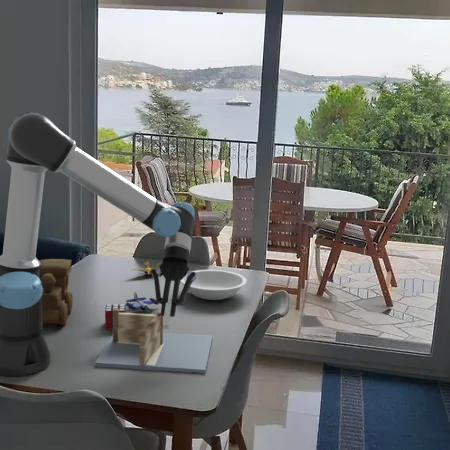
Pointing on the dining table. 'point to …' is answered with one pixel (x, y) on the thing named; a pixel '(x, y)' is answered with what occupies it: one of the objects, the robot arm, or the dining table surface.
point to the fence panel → (149, 339)
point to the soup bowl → (215, 284)
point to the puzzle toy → (110, 314)
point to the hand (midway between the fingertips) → (165, 326)
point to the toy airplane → (141, 303)
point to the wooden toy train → (55, 290)
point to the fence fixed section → (131, 326)
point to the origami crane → (148, 268)
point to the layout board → (161, 354)
